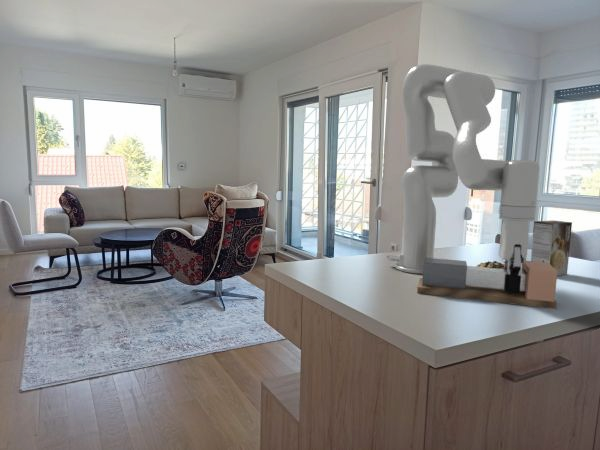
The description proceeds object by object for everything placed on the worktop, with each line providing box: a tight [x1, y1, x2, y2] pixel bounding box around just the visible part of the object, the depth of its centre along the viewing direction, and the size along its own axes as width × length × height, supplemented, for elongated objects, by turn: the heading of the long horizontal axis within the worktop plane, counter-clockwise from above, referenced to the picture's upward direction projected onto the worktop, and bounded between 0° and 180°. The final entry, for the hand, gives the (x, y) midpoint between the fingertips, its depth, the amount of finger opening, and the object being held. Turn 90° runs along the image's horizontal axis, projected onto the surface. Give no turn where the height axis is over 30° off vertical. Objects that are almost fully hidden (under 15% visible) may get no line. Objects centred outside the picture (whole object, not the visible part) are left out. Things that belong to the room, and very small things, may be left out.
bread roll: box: [475, 260, 504, 269], centre depth 126 cm, size 11×11×5 cm
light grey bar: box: [466, 265, 527, 291], centre depth 102 cm, size 18×4×4 cm, turn 71°
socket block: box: [521, 260, 558, 302], centre depth 99 cm, size 6×10×7 cm, turn 161°
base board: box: [416, 277, 558, 310], centre depth 104 cm, size 30×10×2 cm, turn 71°
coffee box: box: [530, 220, 573, 277], centre depth 128 cm, size 9×6×16 cm
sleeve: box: [422, 257, 468, 290], centre depth 106 cm, size 10×6×6 cm, turn 71°
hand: (510, 288), depth 101 cm, fingers closed on light grey bar, 4 cm apart
